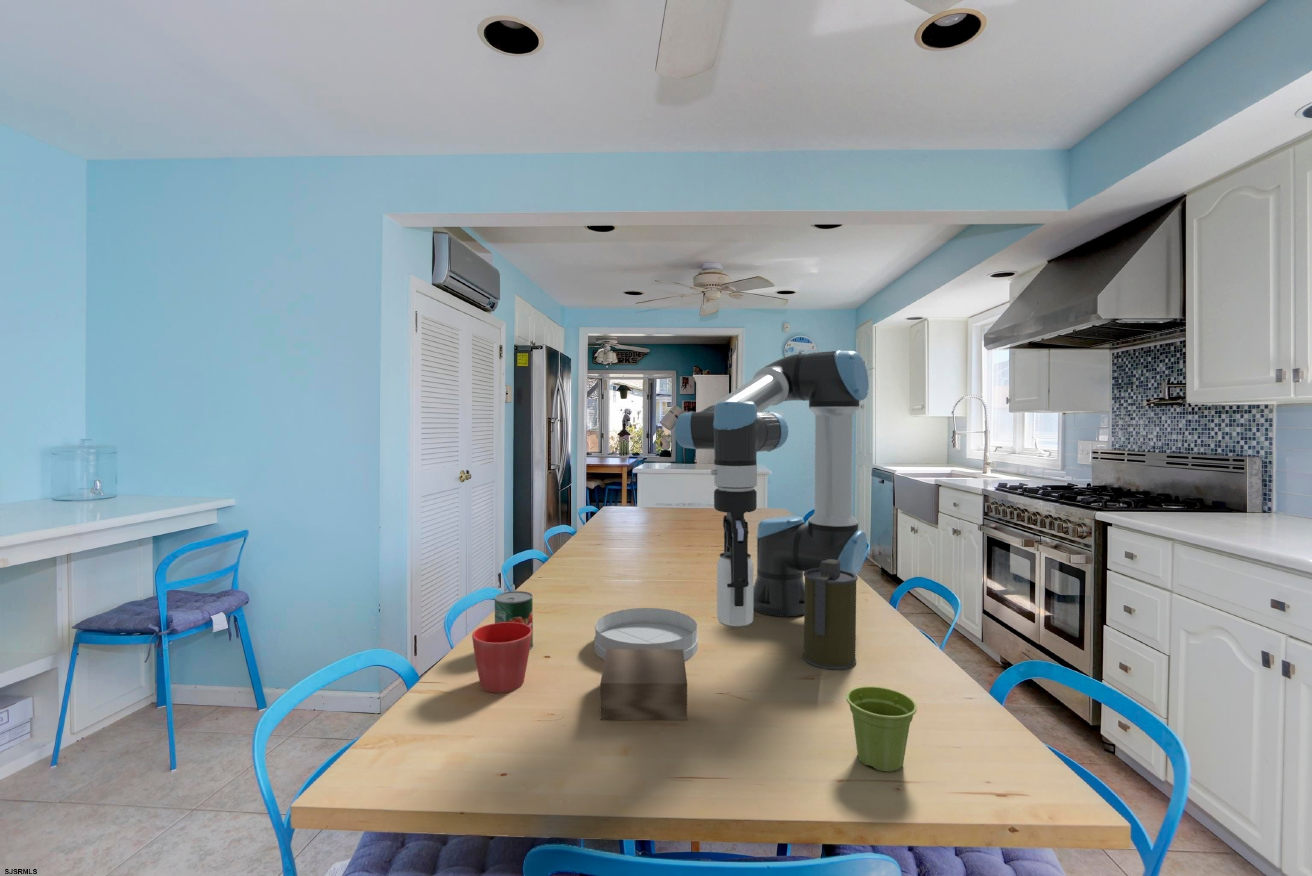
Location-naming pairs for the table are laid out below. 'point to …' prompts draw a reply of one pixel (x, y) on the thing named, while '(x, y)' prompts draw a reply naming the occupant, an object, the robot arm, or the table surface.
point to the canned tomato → (515, 608)
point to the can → (724, 591)
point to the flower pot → (502, 655)
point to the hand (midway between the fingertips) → (735, 615)
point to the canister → (830, 616)
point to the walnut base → (643, 685)
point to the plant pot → (881, 725)
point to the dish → (646, 631)
